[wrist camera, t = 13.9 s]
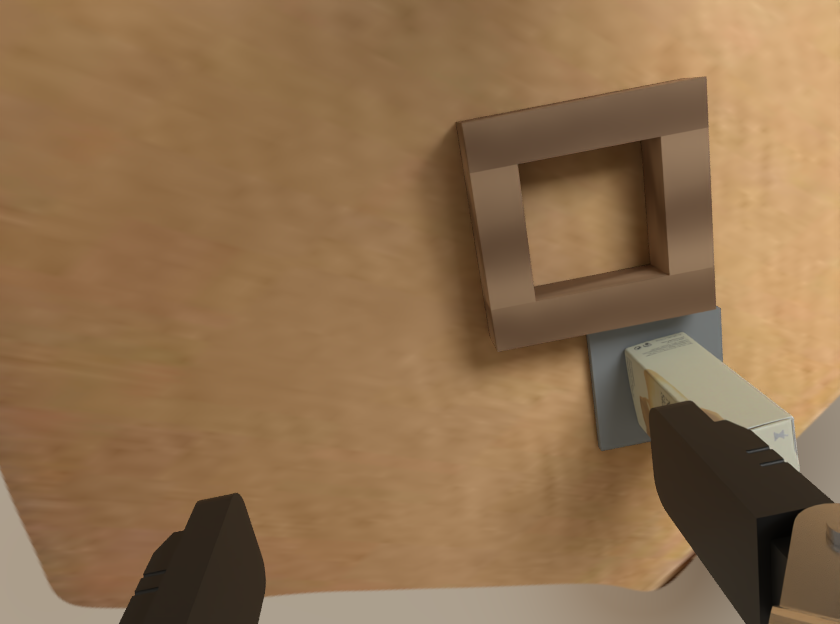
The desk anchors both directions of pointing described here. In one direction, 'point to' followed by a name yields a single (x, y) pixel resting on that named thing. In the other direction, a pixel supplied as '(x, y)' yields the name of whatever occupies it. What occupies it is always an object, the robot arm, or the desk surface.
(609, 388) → the mat
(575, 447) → the desk surface
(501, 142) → the collar
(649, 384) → the skincare box
